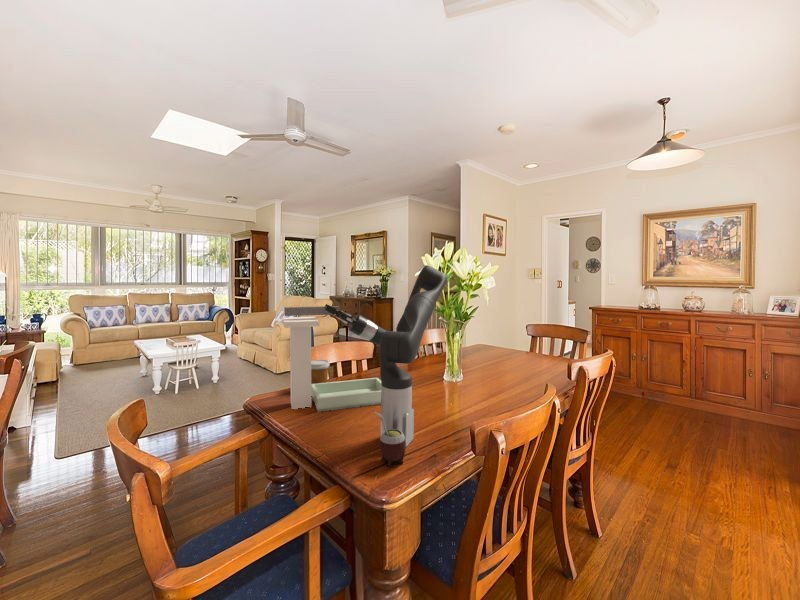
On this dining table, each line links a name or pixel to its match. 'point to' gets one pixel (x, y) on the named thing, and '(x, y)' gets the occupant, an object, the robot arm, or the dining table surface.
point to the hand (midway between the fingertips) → (325, 306)
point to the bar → (307, 311)
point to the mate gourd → (392, 445)
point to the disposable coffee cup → (319, 371)
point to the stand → (300, 359)
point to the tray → (346, 394)
